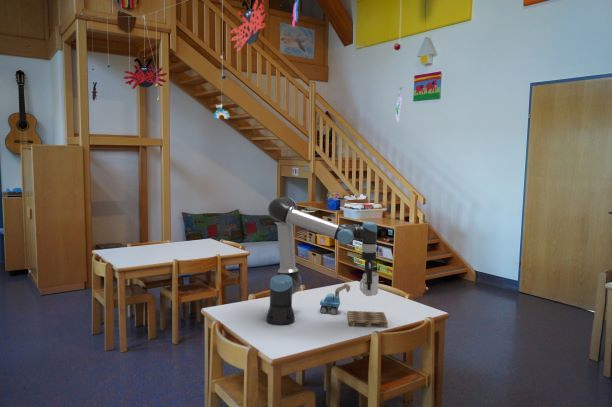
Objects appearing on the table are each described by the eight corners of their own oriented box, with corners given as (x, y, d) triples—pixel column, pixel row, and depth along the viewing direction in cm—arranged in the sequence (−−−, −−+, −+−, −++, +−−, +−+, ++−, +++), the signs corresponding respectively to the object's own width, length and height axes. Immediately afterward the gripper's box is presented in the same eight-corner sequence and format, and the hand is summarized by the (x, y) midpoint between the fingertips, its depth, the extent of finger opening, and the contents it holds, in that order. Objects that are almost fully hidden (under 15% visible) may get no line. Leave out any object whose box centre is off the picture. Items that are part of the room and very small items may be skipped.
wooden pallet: (348, 326, 256) (349, 320, 255) (347, 316, 272) (347, 310, 271) (387, 327, 255) (387, 321, 255) (383, 317, 271) (383, 312, 271)
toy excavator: (348, 316, 272) (349, 285, 270) (318, 313, 275) (319, 283, 274) (349, 311, 280) (351, 281, 279) (321, 308, 284) (321, 279, 282)
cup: (381, 294, 261) (381, 275, 260) (365, 297, 254) (366, 278, 253) (369, 290, 268) (370, 272, 267) (353, 294, 260) (354, 275, 259)
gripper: (378, 255, 249) (376, 299, 251) (374, 247, 270) (372, 288, 272) (363, 255, 249) (362, 298, 251) (360, 247, 270) (359, 287, 273)
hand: (367, 293), depth 262 cm, fingers closed on cup, 9 cm apart
